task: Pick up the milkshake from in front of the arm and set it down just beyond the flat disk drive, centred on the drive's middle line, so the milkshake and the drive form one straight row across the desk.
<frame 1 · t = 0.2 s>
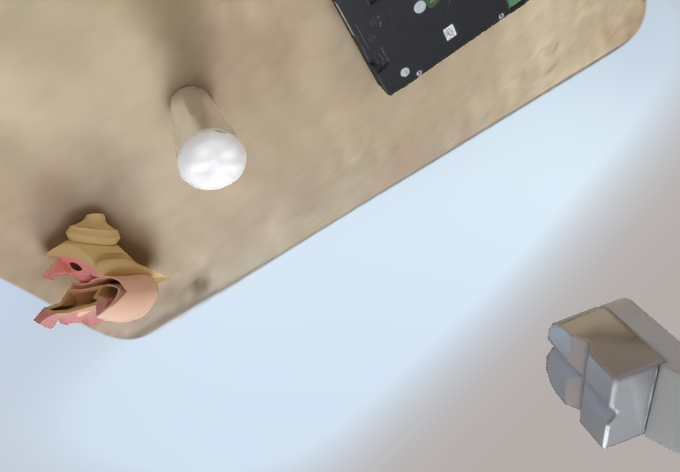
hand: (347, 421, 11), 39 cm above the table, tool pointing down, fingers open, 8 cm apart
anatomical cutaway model: (104, 253, 54), on the table
milkshake: (191, 99, 48), on the table
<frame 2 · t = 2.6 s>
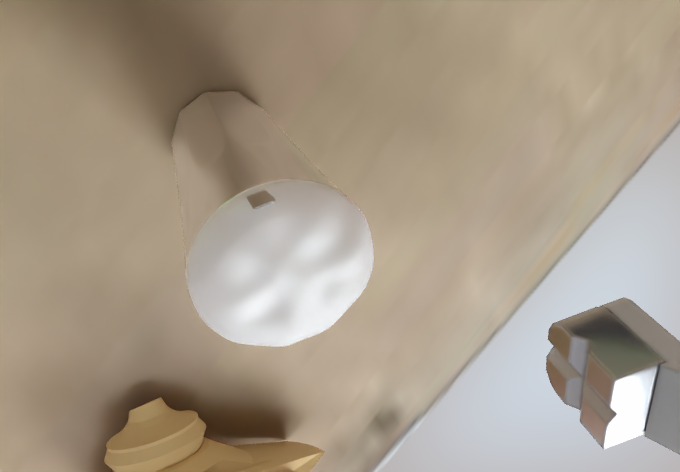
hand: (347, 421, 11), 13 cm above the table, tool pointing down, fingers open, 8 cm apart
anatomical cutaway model: (202, 443, 30), on the table
milkshake: (215, 122, 22), on the table
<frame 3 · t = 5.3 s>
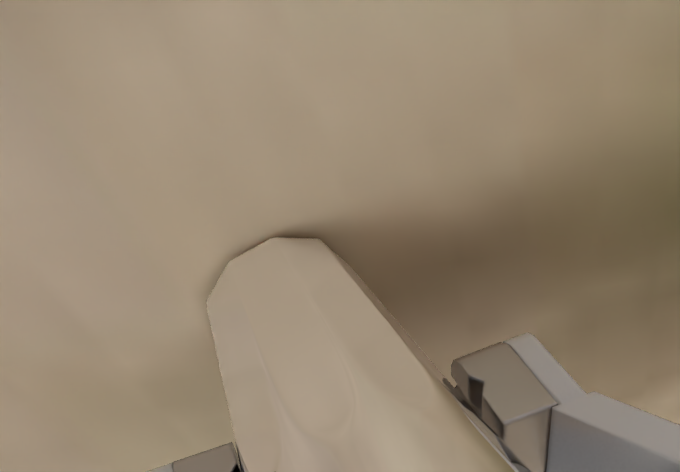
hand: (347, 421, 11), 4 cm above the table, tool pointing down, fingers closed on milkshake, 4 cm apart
milkshake: (294, 292, 14), on the table, touching gripper
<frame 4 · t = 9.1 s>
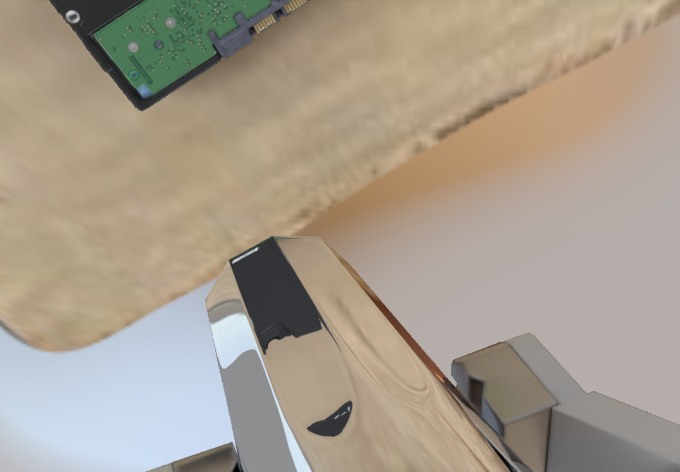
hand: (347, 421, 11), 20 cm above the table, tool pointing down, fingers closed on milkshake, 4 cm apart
milkshake: (294, 291, 14), point 16 cm above the table, touching gripper
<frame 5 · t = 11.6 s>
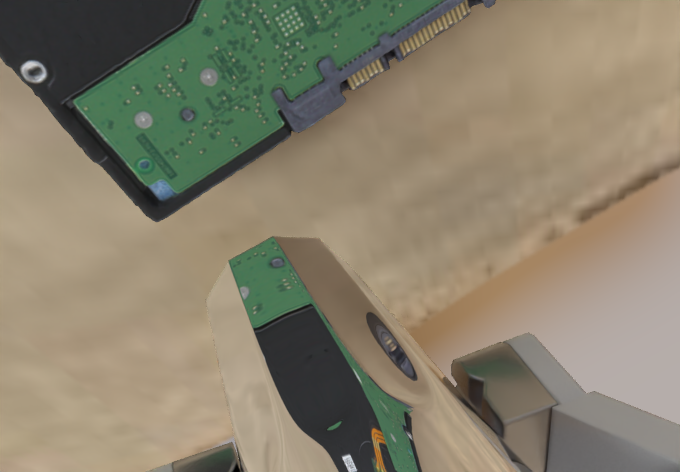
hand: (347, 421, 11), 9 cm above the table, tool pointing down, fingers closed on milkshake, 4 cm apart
milkshake: (294, 291, 14), point 5 cm above the table, touching gripper
when the fingers open (4 cm above the table, at t = 13.1 s): milkshake stays where it is, on the table.
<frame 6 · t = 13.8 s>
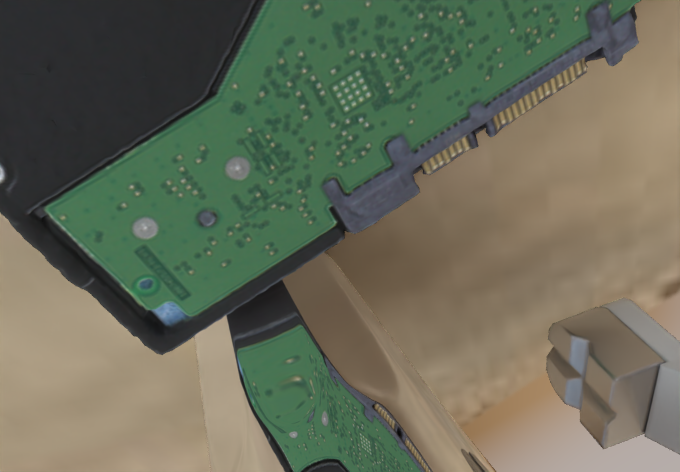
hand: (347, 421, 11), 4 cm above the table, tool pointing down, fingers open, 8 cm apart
milkshake: (279, 286, 14), on the table
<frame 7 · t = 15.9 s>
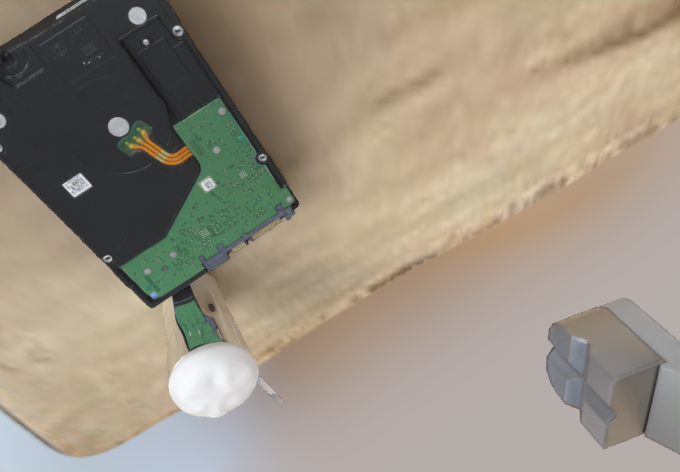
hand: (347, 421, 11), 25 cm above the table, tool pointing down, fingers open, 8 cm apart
milkshake: (195, 287, 39), on the table
disk drive: (141, 140, 34), on the table
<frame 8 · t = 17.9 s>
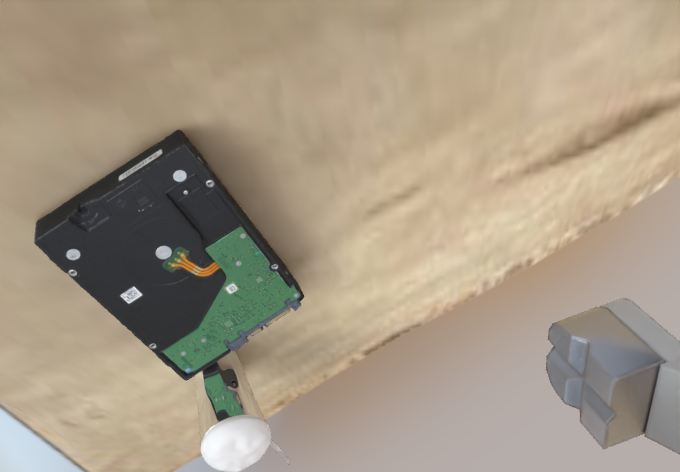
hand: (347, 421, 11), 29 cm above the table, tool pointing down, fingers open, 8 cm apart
milkshake: (219, 357, 48), on the table
disk drive: (179, 251, 42), on the table
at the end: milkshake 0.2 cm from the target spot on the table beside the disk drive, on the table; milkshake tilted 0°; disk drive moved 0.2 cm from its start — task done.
